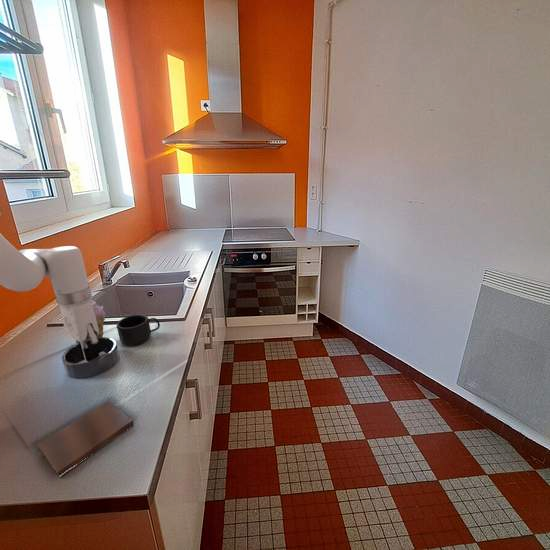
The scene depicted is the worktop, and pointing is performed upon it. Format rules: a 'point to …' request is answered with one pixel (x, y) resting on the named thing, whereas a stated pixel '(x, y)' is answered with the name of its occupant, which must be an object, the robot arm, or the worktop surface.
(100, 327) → the ice cream cone
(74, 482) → the worktop surface
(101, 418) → the cutting board
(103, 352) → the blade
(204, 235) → the worktop surface
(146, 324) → the mug
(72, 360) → the round grey bowl
